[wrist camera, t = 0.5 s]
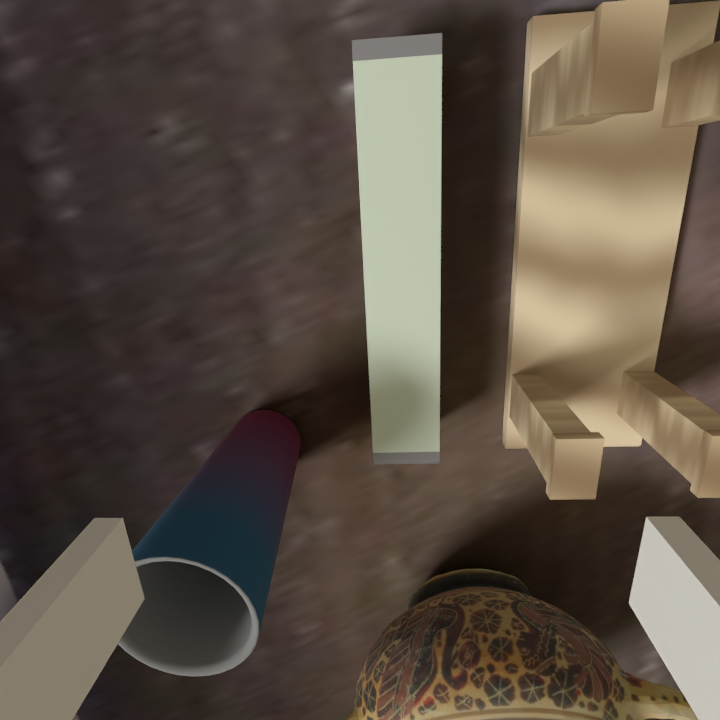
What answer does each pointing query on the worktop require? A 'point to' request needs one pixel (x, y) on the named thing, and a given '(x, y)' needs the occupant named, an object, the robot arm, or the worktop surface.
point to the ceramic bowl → (499, 661)
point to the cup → (215, 553)
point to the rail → (401, 238)
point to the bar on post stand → (606, 238)
